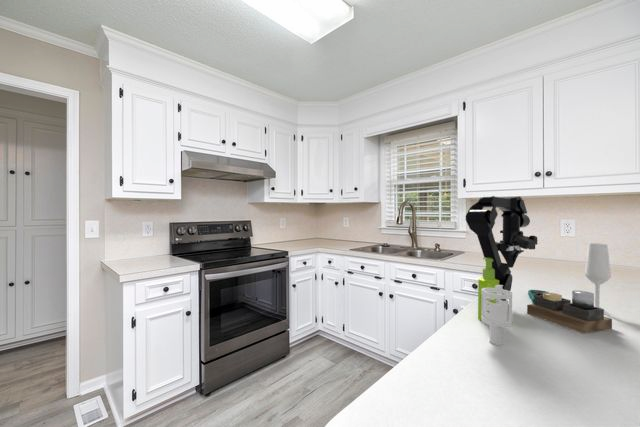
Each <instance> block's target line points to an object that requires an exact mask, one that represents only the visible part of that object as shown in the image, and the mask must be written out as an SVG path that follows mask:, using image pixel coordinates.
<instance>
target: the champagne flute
mask: <svg viewBox="0 0 640 427" xmlns="http://www.w3.org/2000/svg"><path fill="white" fill-rule="evenodd" d="M586 254H587V255H586V261H585V267H584V268H585V269H584V276H585V277H586V278H587V279H588V280H589V281H590V282H591V283H593V284H594V307H598V308H602V307H601V306H600V304H601V303H600V296H601V294H600V289H601V287H600V286H601V285H602V284H604V283H606V282H608V281H610V279H611V277H612V274H611V265H610V255H609V248H608V243H600V242H599V243H598V242H589V243H588V245H587V253H586ZM604 316H611V313H610V312H609V311H607V310H605V309H604Z"/></svg>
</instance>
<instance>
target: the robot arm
mask: <svg viewBox="0 0 640 427" xmlns="http://www.w3.org/2000/svg"><path fill="white" fill-rule="evenodd" d="M484 208H491V210H490V209H484ZM497 208H498V210H500V211H501V212H502V213H501V215H500V217H501V218H502V230H499V234H502V240H499V241H495V236H494V234H493V233H494V232H493V228H494V226H495V224H496V218H497V217H498V210H497ZM527 214H528V210H527V208H526V203H525V200H524V199H522V197H521V196H502V197H498V196H495V195H490V196H489V195H487V196H485V195H483V196H482V197H481V196H480V198H479V200H478V201H477V202H475V203H474V204H473V205H471V206H470V207H469V209H468V210H467V212H466V214H465V222H466V223H467V226H468V227H469V229H470V230H471V231H472V232H473V233H474V234H475V235H476V236H477V239H478V242H479V245H480V249H481V252H482V255H483V258H484V257H485V258H492V259H493V262H492V268H493V269H495V279H497V280H499V285H502V289H504V290H508V291H510V292H512V291H511V290H512V283H513V275H512V274H511V272H512V271H511V269H510V268H513V267H514V266H515V263H516V261H517V258H518V257H519V255H520V254H521V253H524V252H525V250H536V246H537V245H538V241H539V240H538V236H536V235H529V236H527V235H524V232H523V231H522V230H521V229H520V228H526V227H528V226H529V225H530V222H531V220H530V216H528V215H527ZM522 249H523V250H522ZM499 252H500V253H501V255H502V257H503V259H504V261H505V262H502V260H501V256H500V253H499ZM484 261H485V262H486V260H485V259H484ZM500 300H502V301H506V300H507V299H500Z"/></svg>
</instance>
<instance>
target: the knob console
mask: <svg viewBox="0 0 640 427" xmlns="http://www.w3.org/2000/svg"><path fill="white" fill-rule="evenodd" d="M604 310H605V309H604V308H602V307H601V308H598V307H594V308H583V307H578V306H575V305H573V304H572V300H570V299H568V298H563V297H562V301H552V300H549V299H545V298H543V295H540V296H535V304H533V303H532V304H527V305H526V314H528V315H529V316H533V317H536V318H538V319H539V318H540V319H542V320H545V321H547V322H551V323H553V324H556V325H559V326H561V327H565V328H567V329H570V330H573V331H576V332H580V333H582V334H589V333H595V332H600V331H601V332H602V331H606V330H612V329H613V318H610V317H607V316H605V315H604Z"/></svg>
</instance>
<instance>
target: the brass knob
mask: <svg viewBox="0 0 640 427" xmlns="http://www.w3.org/2000/svg"><path fill="white" fill-rule="evenodd" d="M547 292H548V291H546V293H543V298H545V299H549V300H552V301H562V298H563V296H562V294H560V293H554V292H549V293H547Z"/></svg>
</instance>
